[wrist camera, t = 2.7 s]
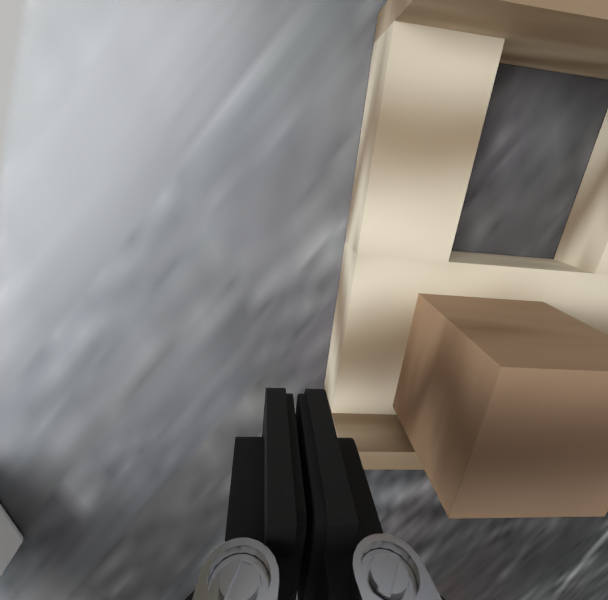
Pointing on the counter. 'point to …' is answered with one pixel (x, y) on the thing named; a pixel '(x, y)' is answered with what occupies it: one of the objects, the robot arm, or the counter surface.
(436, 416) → the walnut block
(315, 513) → the robot arm
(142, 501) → the counter surface
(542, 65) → the box
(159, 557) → the counter surface
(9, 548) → the medicine bottle
